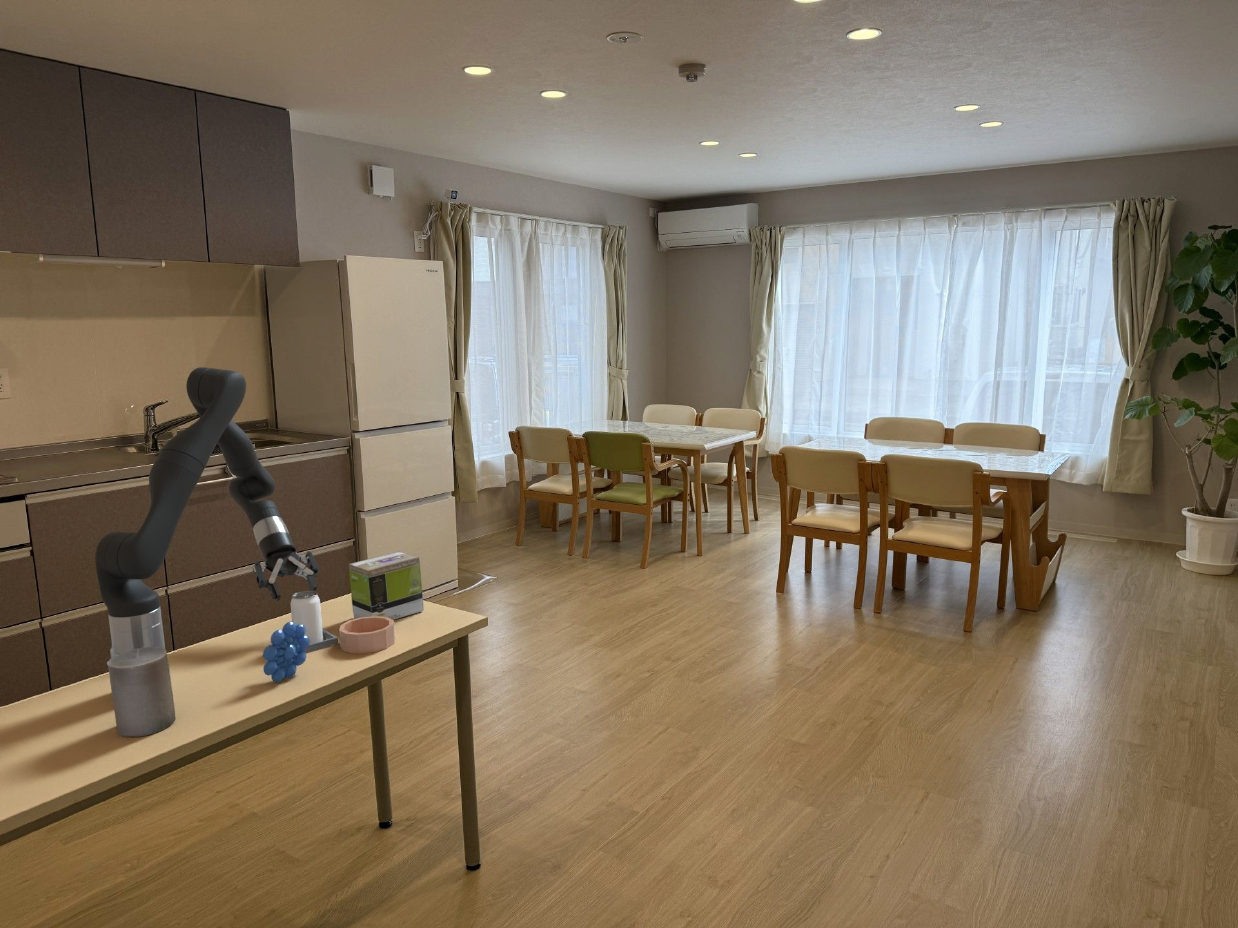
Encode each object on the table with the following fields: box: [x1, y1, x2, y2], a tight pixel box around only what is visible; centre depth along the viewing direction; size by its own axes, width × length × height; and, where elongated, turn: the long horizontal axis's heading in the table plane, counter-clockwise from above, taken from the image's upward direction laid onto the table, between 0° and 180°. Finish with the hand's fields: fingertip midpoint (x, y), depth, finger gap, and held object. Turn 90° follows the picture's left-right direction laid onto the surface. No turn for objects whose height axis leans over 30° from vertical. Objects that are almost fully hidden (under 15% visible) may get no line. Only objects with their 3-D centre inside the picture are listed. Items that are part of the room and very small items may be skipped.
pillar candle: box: [106, 647, 176, 738], centre depth 156 cm, size 10×10×15 cm
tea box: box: [348, 551, 425, 621], centre depth 215 cm, size 15×10×15 cm
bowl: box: [339, 616, 396, 655], centre depth 196 cm, size 12×12×4 cm
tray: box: [302, 627, 339, 654], centre depth 197 cm, size 10×10×2 cm
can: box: [290, 590, 324, 644], centre depth 196 cm, size 6×6×12 cm
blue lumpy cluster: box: [262, 620, 310, 683], centre depth 177 cm, size 12×7×12 cm, turn 151°
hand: (296, 594), depth 199 cm, fingers open, 8 cm apart
